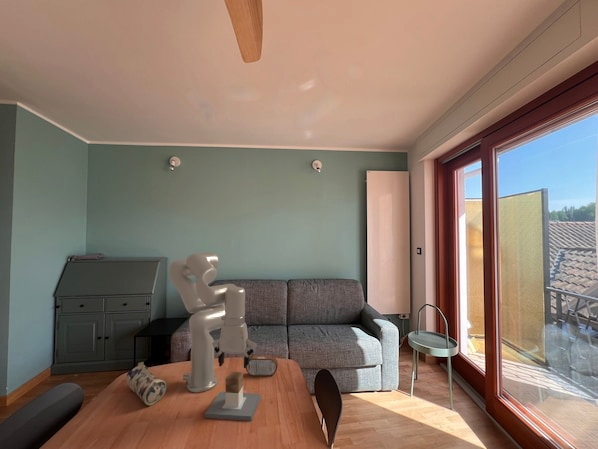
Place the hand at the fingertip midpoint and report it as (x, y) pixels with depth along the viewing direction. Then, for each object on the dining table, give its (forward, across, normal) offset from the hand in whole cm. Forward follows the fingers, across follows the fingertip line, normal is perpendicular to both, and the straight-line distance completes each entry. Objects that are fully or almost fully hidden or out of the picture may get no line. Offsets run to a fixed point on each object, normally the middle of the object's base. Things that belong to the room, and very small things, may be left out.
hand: (233, 365), depth 97 cm
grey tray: (+15, +1, -1) cm, 15 cm away
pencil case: (+16, -38, +4) cm, 42 cm away
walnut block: (+8, +1, 0) cm, 8 cm away
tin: (+16, +5, +23) cm, 28 cm away
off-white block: (+13, +1, -1) cm, 13 cm away
